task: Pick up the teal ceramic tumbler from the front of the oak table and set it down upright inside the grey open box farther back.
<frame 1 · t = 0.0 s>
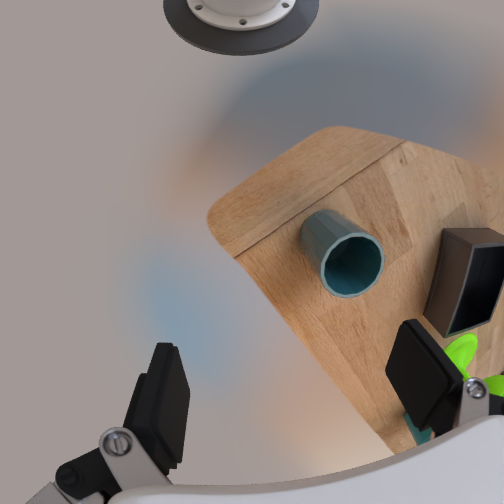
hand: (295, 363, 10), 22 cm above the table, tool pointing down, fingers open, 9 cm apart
cup: (419, 408, 51), on the table
wineglass: (452, 360, 45), on the table
grey open box: (459, 270, 35), on the table
tumbler: (325, 236, 32), on the table
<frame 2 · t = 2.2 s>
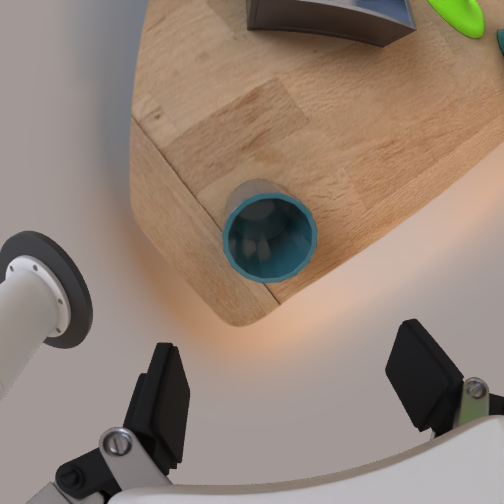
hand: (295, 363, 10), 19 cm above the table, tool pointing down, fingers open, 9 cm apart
tumbler: (259, 211, 27), on the table
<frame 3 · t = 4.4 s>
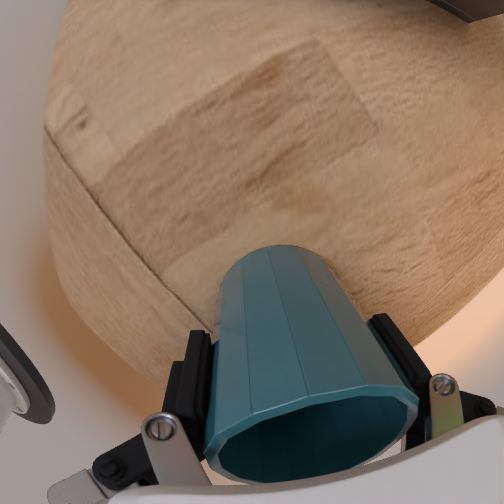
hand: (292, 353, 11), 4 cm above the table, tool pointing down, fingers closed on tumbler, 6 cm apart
tumbler: (279, 302, 15), on the table, touching gripper
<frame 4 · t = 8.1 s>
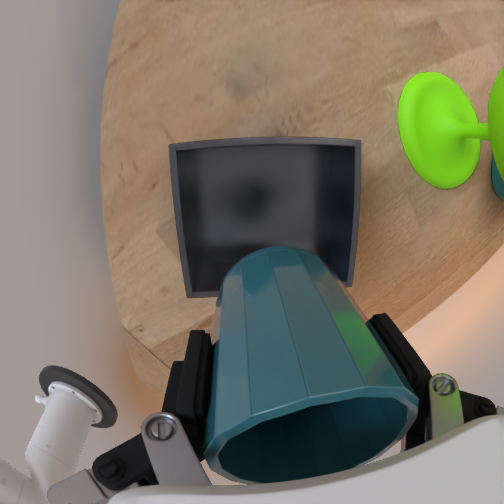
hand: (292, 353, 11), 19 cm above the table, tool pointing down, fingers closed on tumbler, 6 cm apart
wineglass: (443, 129, 25), on the table
grey open box: (262, 203, 28), on the table
tumbler: (279, 302, 14), point 15 cm above the table, touching gripper
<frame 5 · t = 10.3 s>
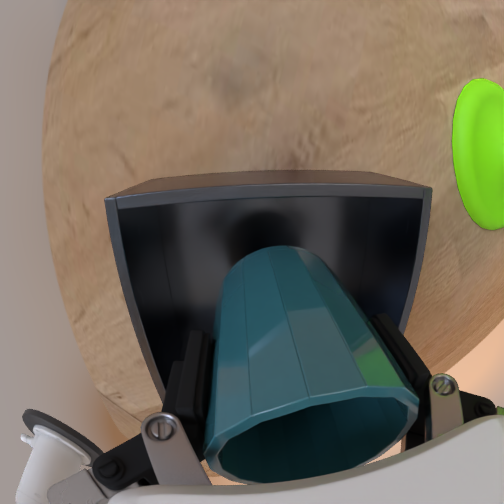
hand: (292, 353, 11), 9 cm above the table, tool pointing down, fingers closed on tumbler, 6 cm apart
wineglass: (496, 154, 17), on the table
grey open box: (267, 264, 19), on the table
tumbler: (279, 302, 14), point 5 cm above the table, touching gripper
when the fingers open (5 cm above the table, at t = 11.9 s): tumbler stays where it is, resting on grey open box.
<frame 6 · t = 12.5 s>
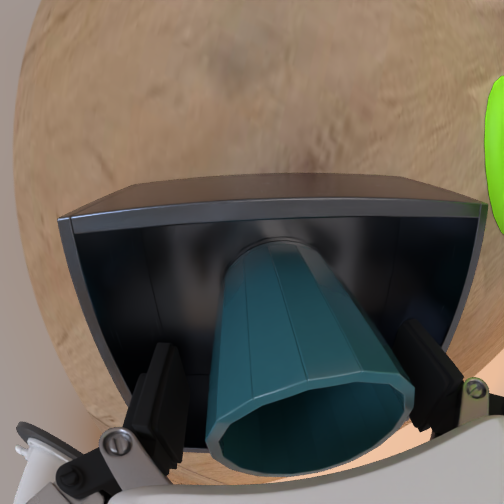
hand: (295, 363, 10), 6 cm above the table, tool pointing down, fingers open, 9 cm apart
grey open box: (276, 288, 16), on the table
tumbler: (279, 297, 15), point 1 cm above the table, touching grey open box
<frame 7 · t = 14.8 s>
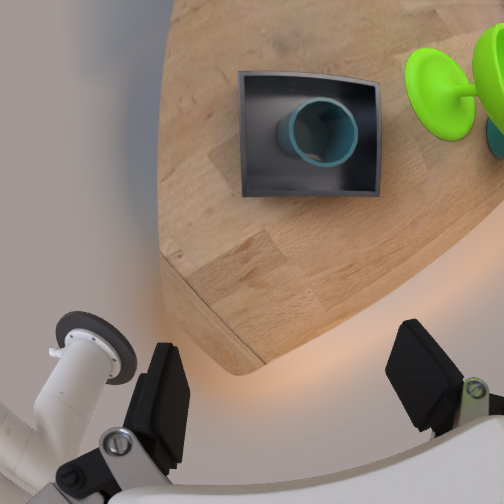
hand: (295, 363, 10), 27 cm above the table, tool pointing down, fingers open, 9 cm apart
cup: (499, 132, 30), on the table
wineglass: (442, 93, 28), on the table
grey open box: (301, 135, 31), on the table
tumbler: (303, 134, 30), point 1 cm above the table, touching grey open box
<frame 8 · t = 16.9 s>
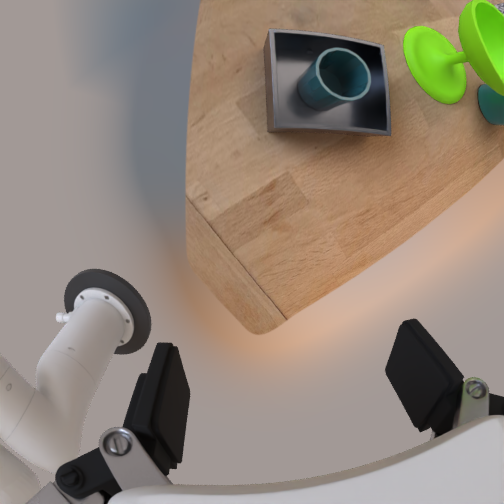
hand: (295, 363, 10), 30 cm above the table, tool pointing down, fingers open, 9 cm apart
cup: (489, 101, 31), on the table
wineglass: (436, 63, 30), on the table
grey open box: (318, 89, 32), on the table
tumbler: (320, 88, 31), point 1 cm above the table, touching grey open box
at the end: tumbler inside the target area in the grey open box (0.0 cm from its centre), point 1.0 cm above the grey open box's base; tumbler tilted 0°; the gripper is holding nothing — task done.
